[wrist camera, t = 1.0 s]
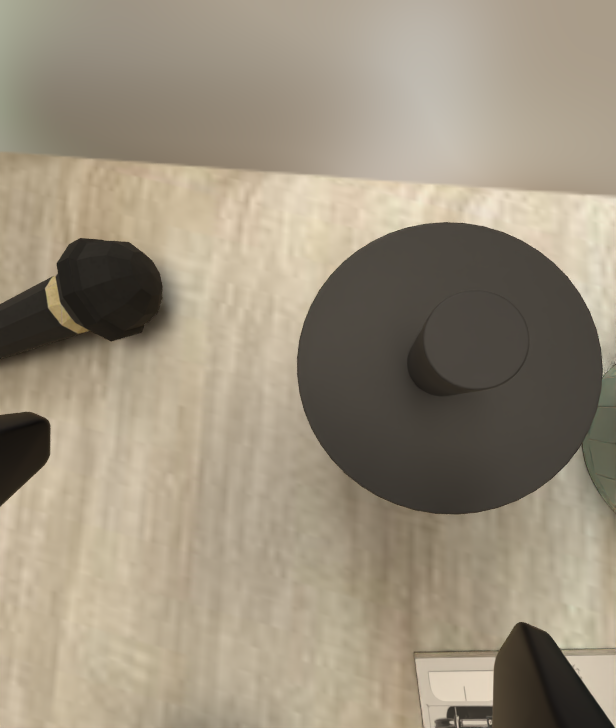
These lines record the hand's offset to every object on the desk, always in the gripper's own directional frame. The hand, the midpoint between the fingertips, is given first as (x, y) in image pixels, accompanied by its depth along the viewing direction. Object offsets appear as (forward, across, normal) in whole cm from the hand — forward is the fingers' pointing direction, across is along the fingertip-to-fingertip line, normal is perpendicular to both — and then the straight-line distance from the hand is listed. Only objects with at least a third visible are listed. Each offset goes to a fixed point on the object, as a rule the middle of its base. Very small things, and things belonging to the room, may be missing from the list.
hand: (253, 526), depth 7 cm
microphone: (+15, +20, +6) cm, 26 cm away
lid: (+11, -3, -1) cm, 12 cm away
